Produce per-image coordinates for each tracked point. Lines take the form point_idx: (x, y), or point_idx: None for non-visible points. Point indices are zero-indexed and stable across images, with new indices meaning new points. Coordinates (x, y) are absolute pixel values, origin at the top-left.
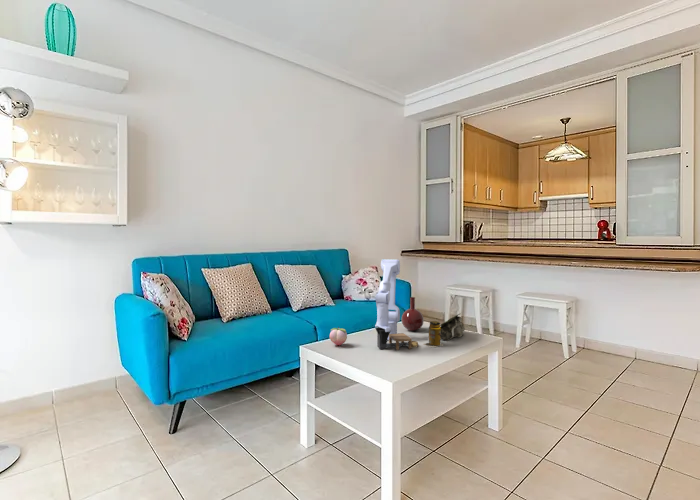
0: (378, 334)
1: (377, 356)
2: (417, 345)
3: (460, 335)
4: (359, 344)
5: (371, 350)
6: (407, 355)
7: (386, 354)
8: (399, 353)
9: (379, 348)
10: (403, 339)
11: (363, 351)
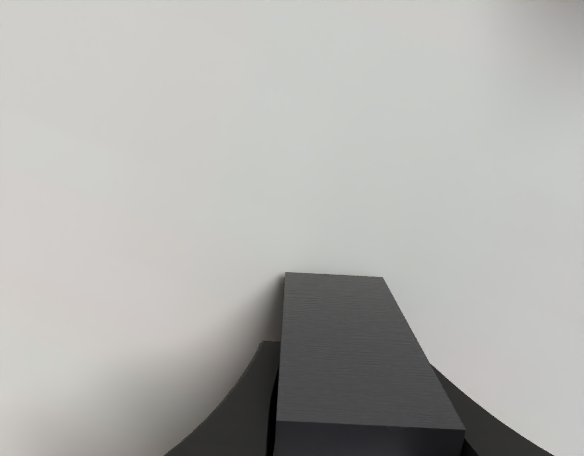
0: (377, 416)
1: (5, 130)
2: None
3: None
4: None
5: (290, 151)
6: (5, 452)
7: (74, 271)
8: (87, 412)
9: (293, 273)
10: None
11: (280, 12)
